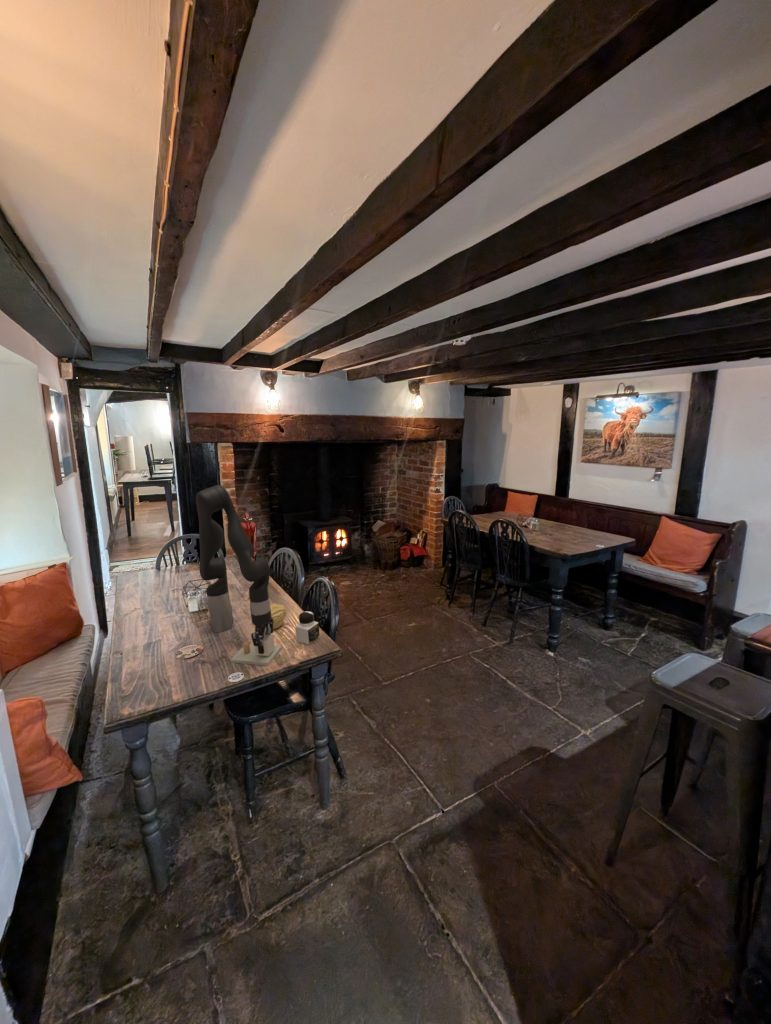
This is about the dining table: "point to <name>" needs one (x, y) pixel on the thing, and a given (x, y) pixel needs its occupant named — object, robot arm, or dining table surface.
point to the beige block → (266, 645)
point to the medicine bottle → (307, 628)
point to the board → (253, 655)
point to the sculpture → (277, 614)
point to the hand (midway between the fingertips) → (265, 649)
